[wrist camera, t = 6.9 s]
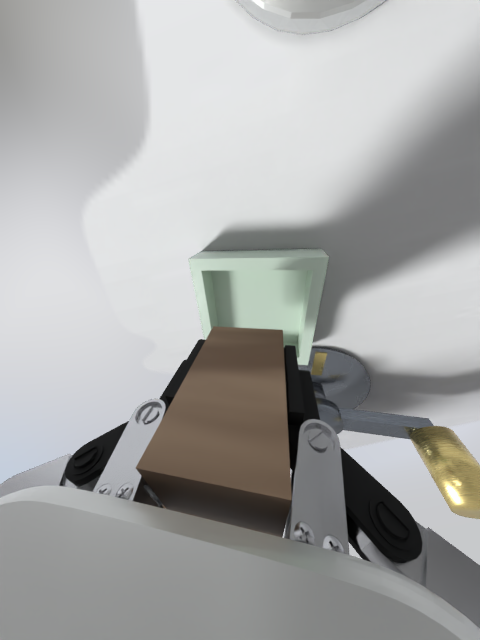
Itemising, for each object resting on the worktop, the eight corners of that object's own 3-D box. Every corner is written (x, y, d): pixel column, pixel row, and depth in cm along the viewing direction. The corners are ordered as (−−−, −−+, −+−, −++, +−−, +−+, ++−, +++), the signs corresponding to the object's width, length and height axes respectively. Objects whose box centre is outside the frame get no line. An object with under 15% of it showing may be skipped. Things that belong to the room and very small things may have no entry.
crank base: (262, 343, 18) (260, 363, 16) (385, 351, 16) (402, 375, 14) (261, 408, 24) (260, 429, 22) (352, 420, 22) (360, 444, 20)
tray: (201, 251, 14) (188, 258, 12) (320, 248, 13) (329, 256, 11) (215, 340, 19) (207, 356, 17) (304, 346, 18) (307, 365, 16)
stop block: (213, 326, 11) (135, 468, 5) (282, 329, 10) (291, 500, 4) (220, 374, 13) (171, 516, 7) (278, 380, 12) (280, 543, 6)
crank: (293, 419, 19) (298, 486, 15) (297, 395, 17) (305, 465, 12) (432, 438, 17) (489, 524, 12) (456, 413, 15) (536, 506, 10)
